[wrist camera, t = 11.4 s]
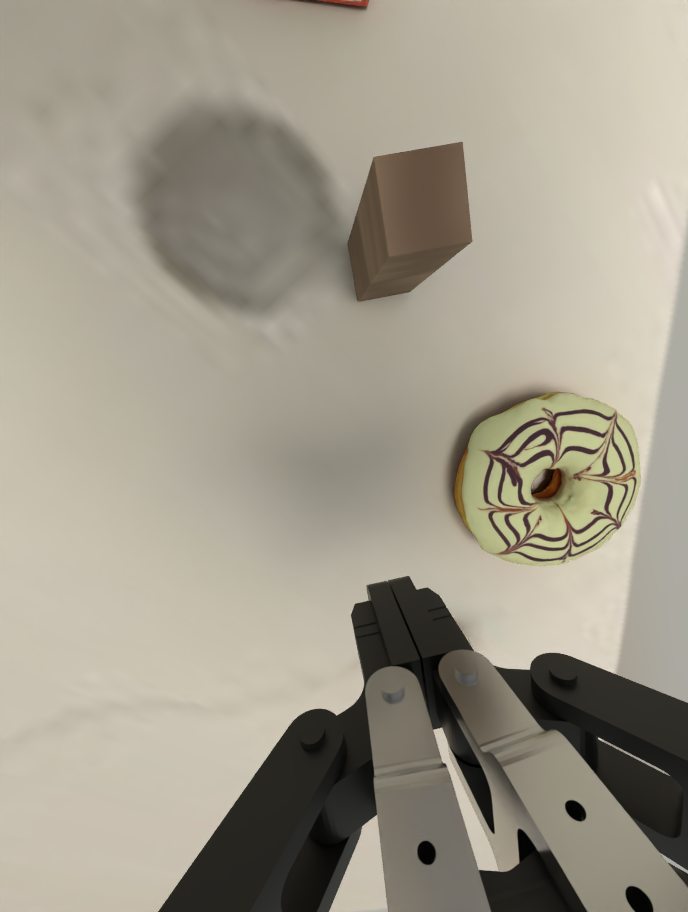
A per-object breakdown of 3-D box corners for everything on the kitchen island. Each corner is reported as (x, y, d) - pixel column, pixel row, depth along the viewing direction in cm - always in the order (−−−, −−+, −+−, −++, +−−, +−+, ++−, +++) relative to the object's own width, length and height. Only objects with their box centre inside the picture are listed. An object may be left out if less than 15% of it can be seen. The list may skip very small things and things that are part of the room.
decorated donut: (433, 415, 22) (458, 423, 19) (597, 374, 23) (652, 373, 19) (460, 563, 25) (486, 595, 21) (607, 523, 25) (658, 548, 22)
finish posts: (420, 666, 26) (468, 790, 18) (347, 243, 20) (373, 157, 12) (460, 656, 26) (524, 775, 19) (401, 233, 20) (462, 141, 12)
